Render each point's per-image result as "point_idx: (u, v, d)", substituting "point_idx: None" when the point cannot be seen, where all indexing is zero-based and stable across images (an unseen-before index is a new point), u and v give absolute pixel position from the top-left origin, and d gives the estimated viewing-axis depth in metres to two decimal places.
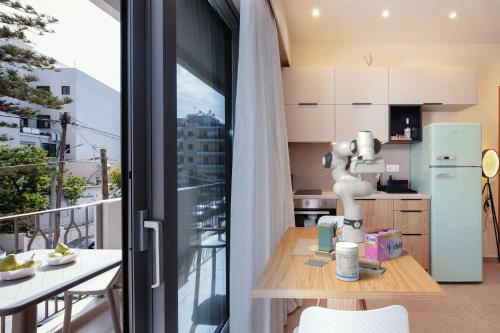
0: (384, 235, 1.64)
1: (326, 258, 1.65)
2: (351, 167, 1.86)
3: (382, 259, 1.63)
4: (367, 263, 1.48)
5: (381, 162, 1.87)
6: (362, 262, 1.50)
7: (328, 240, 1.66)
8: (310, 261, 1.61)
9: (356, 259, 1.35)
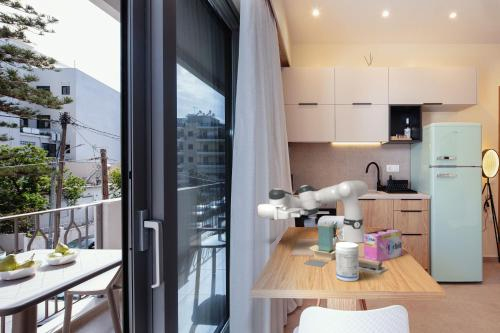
0: (383, 235, 1.64)
1: (326, 258, 1.65)
2: (281, 215, 1.74)
3: (381, 259, 1.63)
4: (366, 262, 1.49)
5: (292, 208, 1.89)
6: (362, 262, 1.50)
7: (328, 240, 1.66)
8: (310, 261, 1.61)
9: (356, 259, 1.35)
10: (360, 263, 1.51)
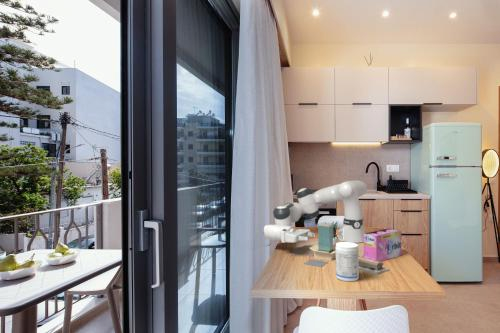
0: (383, 235, 1.64)
1: (326, 258, 1.65)
2: (289, 238, 1.70)
3: (381, 259, 1.63)
4: (366, 262, 1.49)
5: (299, 229, 1.86)
6: (362, 261, 1.51)
7: (328, 240, 1.66)
8: (310, 261, 1.61)
9: (356, 259, 1.35)
10: (360, 262, 1.51)
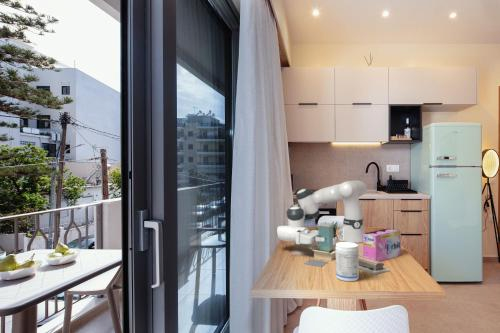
0: (382, 235, 1.64)
1: (326, 258, 1.65)
2: (304, 240, 1.66)
3: (380, 259, 1.63)
4: (366, 262, 1.50)
5: (313, 230, 1.82)
6: (362, 261, 1.51)
7: (328, 240, 1.66)
8: (310, 261, 1.61)
9: (356, 259, 1.35)
10: (361, 262, 1.52)
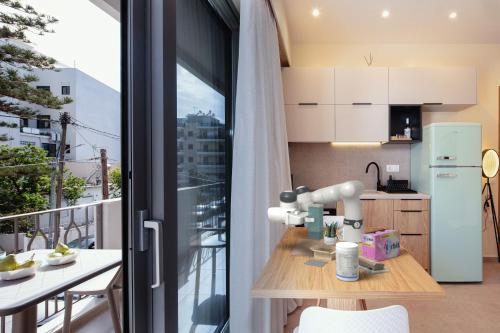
0: (382, 235, 1.65)
1: (326, 258, 1.65)
2: (293, 220, 1.62)
3: (380, 259, 1.63)
4: (365, 262, 1.50)
5: (305, 212, 1.77)
6: (363, 261, 1.52)
7: (318, 221, 1.62)
8: (310, 261, 1.61)
9: (356, 259, 1.35)
10: (361, 262, 1.53)
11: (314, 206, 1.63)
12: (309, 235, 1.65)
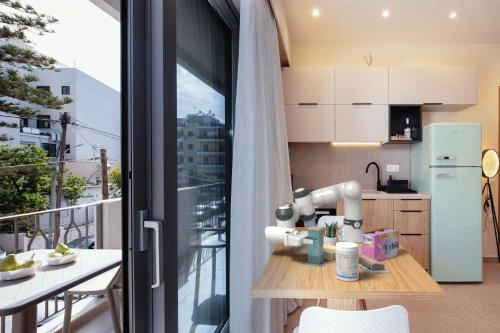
0: (381, 235, 1.65)
1: (326, 258, 1.65)
2: (292, 242, 1.55)
3: (379, 259, 1.63)
4: (366, 261, 1.50)
5: (303, 231, 1.71)
6: (364, 260, 1.53)
7: (318, 245, 1.56)
8: None
9: (356, 259, 1.35)
10: (363, 261, 1.53)
11: (314, 229, 1.57)
12: (308, 260, 1.58)
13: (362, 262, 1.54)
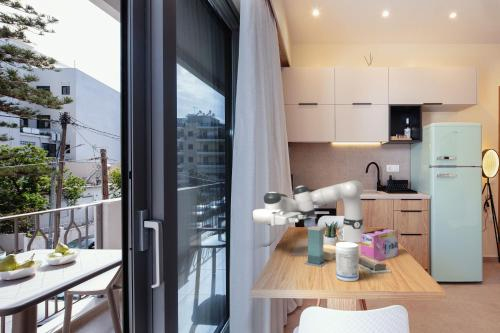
0: (380, 235, 1.65)
1: (326, 258, 1.65)
2: (279, 221, 1.63)
3: (378, 259, 1.63)
4: (367, 262, 1.50)
5: (289, 212, 1.79)
6: (364, 260, 1.52)
7: (318, 245, 1.56)
8: None
9: (356, 259, 1.35)
10: (363, 262, 1.53)
11: (314, 229, 1.57)
12: (308, 260, 1.58)
13: (363, 262, 1.53)
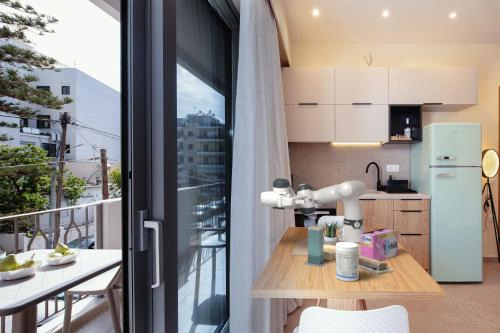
0: (380, 235, 1.65)
1: (326, 258, 1.65)
2: (285, 202, 1.68)
3: (378, 259, 1.64)
4: (369, 262, 1.50)
5: None
6: (365, 261, 1.51)
7: (318, 245, 1.56)
8: None
9: (356, 259, 1.35)
10: (364, 262, 1.52)
11: (314, 229, 1.57)
12: (308, 260, 1.58)
13: (363, 263, 1.53)
